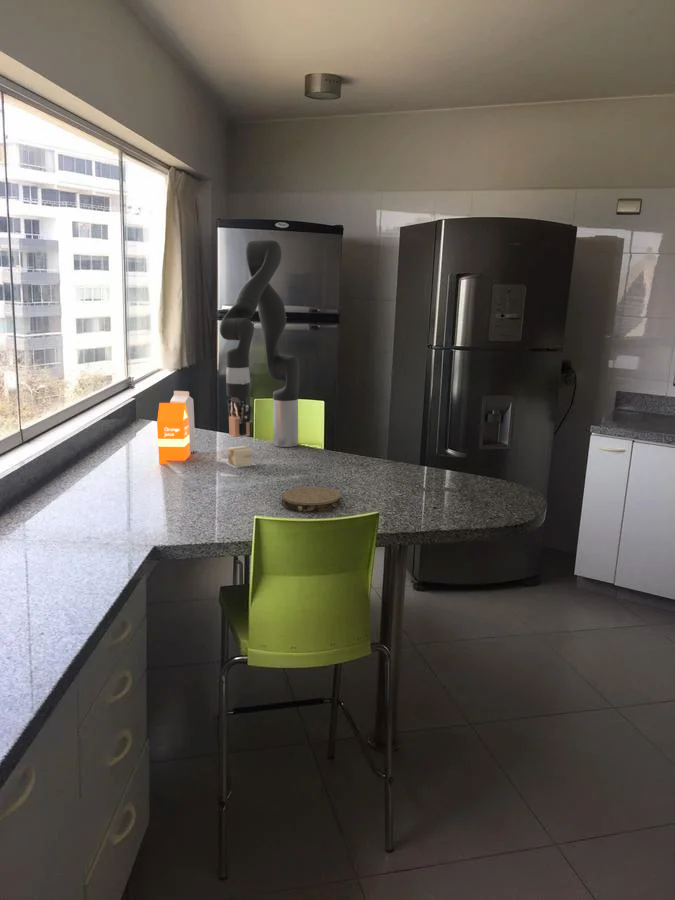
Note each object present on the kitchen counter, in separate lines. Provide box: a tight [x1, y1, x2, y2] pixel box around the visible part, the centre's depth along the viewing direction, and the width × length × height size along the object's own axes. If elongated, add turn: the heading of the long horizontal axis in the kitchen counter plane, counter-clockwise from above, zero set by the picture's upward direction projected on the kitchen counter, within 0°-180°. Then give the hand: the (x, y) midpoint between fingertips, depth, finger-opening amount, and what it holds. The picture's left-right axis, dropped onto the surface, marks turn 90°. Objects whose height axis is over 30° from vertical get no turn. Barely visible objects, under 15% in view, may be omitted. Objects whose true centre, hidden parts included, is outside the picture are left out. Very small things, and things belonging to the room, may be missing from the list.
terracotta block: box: [228, 415, 251, 438], centre depth 231 cm, size 5×5×6 cm
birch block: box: [227, 445, 254, 468], centre depth 234 cm, size 6×6×5 cm
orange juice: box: [156, 402, 191, 465], centre depth 240 cm, size 8×9×20 cm
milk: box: [169, 390, 196, 454], centre depth 252 cm, size 6×6×22 cm
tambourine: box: [281, 486, 341, 514], centre depth 196 cm, size 16×16×3 cm
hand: (239, 433), depth 232 cm, fingers closed on terracotta block, 5 cm apart
